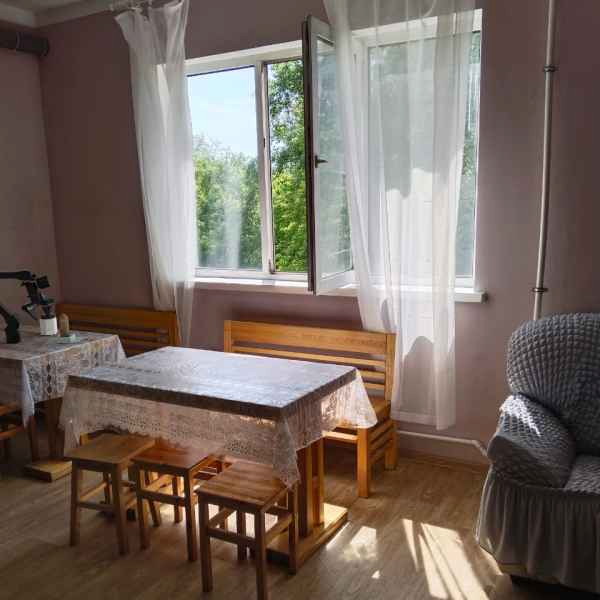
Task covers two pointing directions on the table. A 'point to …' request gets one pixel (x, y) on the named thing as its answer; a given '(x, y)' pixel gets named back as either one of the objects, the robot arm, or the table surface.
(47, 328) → the jar
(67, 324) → the pepper mill
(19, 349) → the table surface
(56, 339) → the well board
